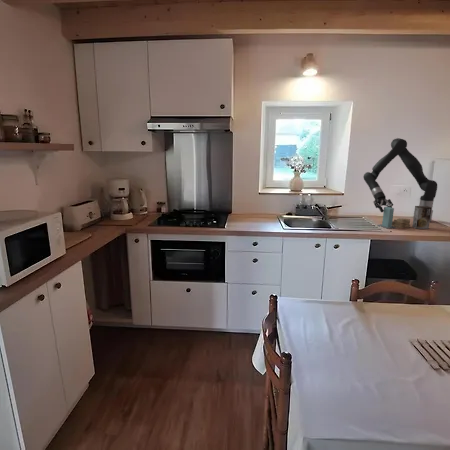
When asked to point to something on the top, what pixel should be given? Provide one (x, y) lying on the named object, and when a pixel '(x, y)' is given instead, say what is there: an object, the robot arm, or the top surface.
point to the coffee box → (421, 217)
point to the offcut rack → (401, 223)
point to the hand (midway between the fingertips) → (387, 211)
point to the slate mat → (387, 227)
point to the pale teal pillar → (387, 216)
